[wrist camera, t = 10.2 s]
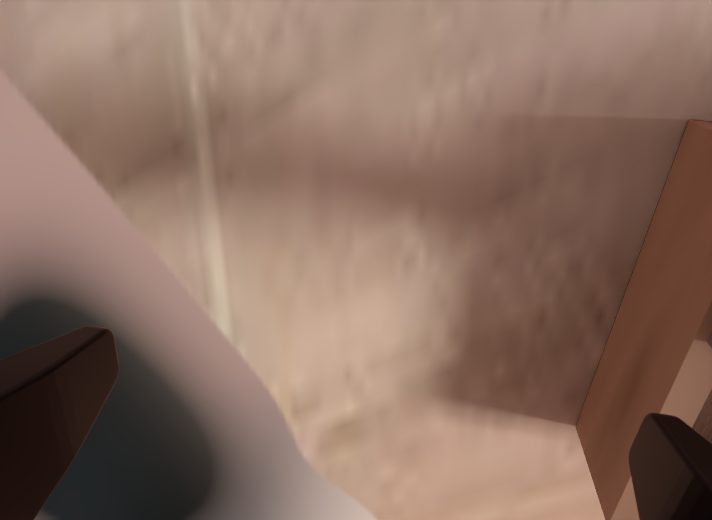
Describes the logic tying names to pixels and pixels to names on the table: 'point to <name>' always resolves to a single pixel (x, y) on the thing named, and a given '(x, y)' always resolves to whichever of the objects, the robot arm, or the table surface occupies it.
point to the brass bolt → (705, 420)
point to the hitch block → (657, 329)
